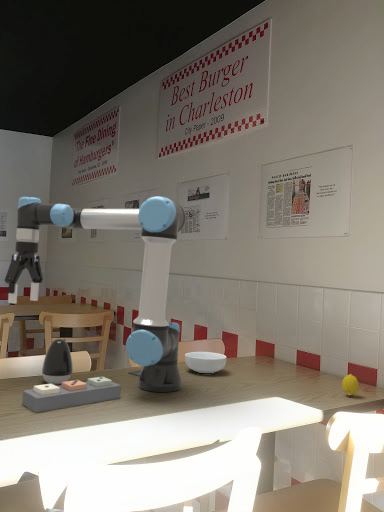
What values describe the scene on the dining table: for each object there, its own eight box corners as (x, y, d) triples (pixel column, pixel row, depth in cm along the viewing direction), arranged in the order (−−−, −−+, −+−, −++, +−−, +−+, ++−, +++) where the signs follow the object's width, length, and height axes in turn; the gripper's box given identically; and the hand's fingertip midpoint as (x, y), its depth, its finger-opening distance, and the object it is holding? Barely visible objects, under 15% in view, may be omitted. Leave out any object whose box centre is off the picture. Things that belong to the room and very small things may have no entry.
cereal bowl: (228, 370, 203) (229, 353, 203) (222, 379, 187) (223, 360, 187) (189, 366, 207) (190, 349, 207) (179, 374, 190) (180, 356, 191)
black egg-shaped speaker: (76, 380, 171) (78, 337, 171) (65, 387, 161) (68, 342, 161) (48, 378, 172) (51, 335, 172) (36, 385, 162) (39, 339, 162)
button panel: (104, 391, 159) (105, 379, 159) (120, 397, 153) (120, 385, 153) (22, 404, 140) (23, 390, 140) (36, 412, 134) (37, 398, 134)
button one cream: (50, 392, 144) (51, 382, 144) (59, 397, 140) (60, 387, 140) (33, 395, 141) (33, 385, 141) (41, 399, 137) (42, 389, 137)
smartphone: (167, 370, 193) (139, 375, 182) (167, 372, 193) (139, 377, 182) (154, 367, 198) (126, 371, 187) (154, 369, 198) (126, 374, 187)
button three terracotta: (77, 388, 151) (77, 379, 151) (86, 392, 146) (87, 383, 147) (61, 391, 147) (61, 381, 147) (70, 395, 143) (70, 385, 143)
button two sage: (102, 384, 157) (102, 375, 157) (111, 388, 153) (112, 379, 153) (87, 387, 153) (87, 377, 153) (96, 391, 149) (97, 381, 149)
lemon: (358, 396, 173) (359, 373, 173) (356, 399, 168) (358, 376, 168) (342, 393, 175) (343, 371, 175) (340, 397, 170) (341, 374, 170)
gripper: (36, 242, 182) (33, 298, 182) (-4, 238, 158) (-9, 303, 158) (54, 243, 181) (51, 300, 181) (16, 239, 157) (12, 305, 156)
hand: (23, 301), depth 169 cm, fingers open, 13 cm apart
